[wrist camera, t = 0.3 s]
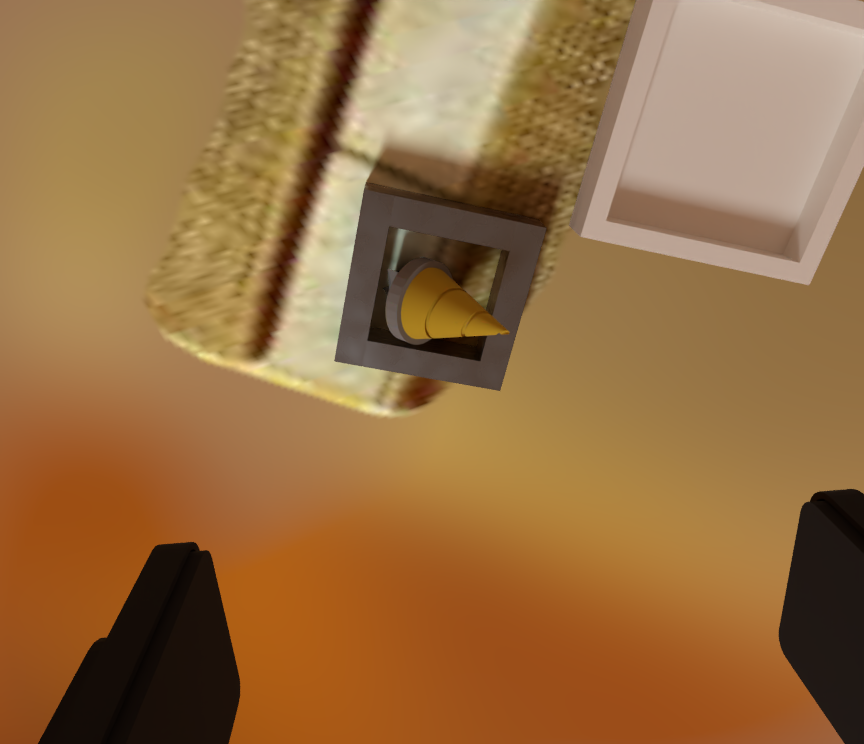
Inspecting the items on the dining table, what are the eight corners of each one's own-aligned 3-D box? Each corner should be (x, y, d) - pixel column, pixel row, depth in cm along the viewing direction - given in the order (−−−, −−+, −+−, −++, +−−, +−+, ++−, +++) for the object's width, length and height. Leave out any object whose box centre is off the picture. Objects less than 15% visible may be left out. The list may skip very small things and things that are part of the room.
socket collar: (365, 182, 41) (364, 189, 39) (538, 219, 43) (546, 228, 40) (337, 346, 46) (334, 361, 43) (495, 375, 47) (500, 390, 45)
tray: (649, -44, 37) (669, -52, 34) (893, 23, 39) (930, 20, 36) (568, 225, 43) (580, 236, 40) (784, 271, 45) (809, 285, 42)
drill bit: (393, 230, 43) (524, 267, 37) (419, 287, 47) (542, 329, 41) (340, 288, 41) (470, 337, 36) (372, 343, 45) (494, 394, 40)
